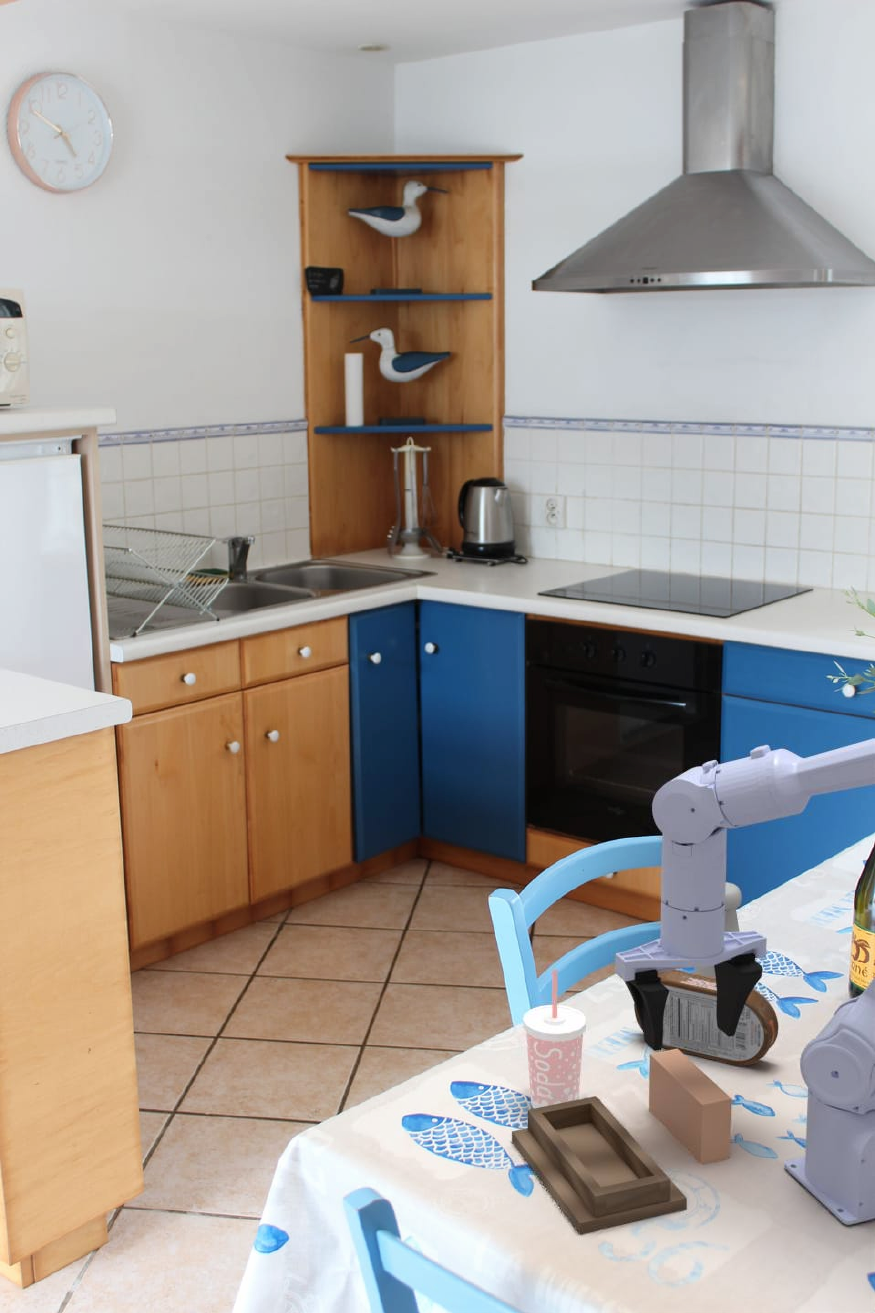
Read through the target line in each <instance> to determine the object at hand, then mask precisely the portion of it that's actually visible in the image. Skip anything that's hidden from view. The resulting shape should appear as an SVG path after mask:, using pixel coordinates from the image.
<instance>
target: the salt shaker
mask: <svg viewBox="0 0 875 1313" xmlns="http://www.w3.org/2000/svg"><path fill="white" fill-rule="evenodd" d="M742 897H743V896H742V891H741V889H740V888H739V886H737V885H736V884H735V883H732V882H728V881H726V889H725V926H724V932H740V926H739V921H738V920H739V919H738V913H737V909H738V908H740V906H741V904H742ZM693 973H695V974H699V975H703V976H708V977H712V978H716V977H715V969H714V965H713V966H708V967H693Z"/></svg>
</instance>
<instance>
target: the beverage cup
mask: <svg viewBox="0 0 875 1313" xmlns="http://www.w3.org/2000/svg"><path fill="white" fill-rule="evenodd" d="M551 975H552V977H551V978H552V980H551V981H552V982H551V983H552V984H551V985H552V989H551V990H552V991H551V992H552V993H551V995H552V997H551V998H552V999H551V1000H552V1002H551V1003H552V1004H547V1005H539V1006H536V1007H534V1008H530V1010H529V1009H528V1011H527V1012H525V1013H524V1015H523V1019H522V1021H523V1022H522V1023H523V1029H524V1031H525V1033H526V1045H527V1063H528V1075H529V1090H530V1104H531V1106H532V1109H534V1108H539V1107H544V1106H549V1105H554V1104H559V1103H564V1102H569V1101H574V1100H579V1097H580V1082H581V1070H582V1068H581V1067H582V1056H583V1041H584V1040H583V1038H584V1033H585V1032H586V1028H587V1017H586V1016H585V1014H584V1012H582V1011H580V1010H578V1009H576V1008H574V1007H572V1006H571V1007H570V1006H567V1005H563V1004H562V1005H561V1004H558V969H552V971H551Z"/></svg>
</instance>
